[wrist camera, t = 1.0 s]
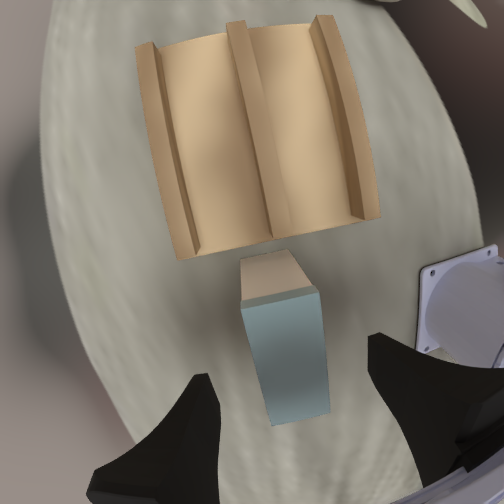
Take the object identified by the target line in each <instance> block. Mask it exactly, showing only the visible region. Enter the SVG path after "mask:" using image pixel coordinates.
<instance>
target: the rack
mask: <svg viewBox="0 0 504 504" xmlns="http://www.w3.org/2000/svg"><path fill="white" fill-rule="evenodd" d="M226 29H227V32H224V33H219V34H214V35H209V36H204V37H200V38H196V39H191V40H187V41H183V42H180V43H176V44H172V45H169V46H165V47H162V48H159V49H157V48H156V46H155V45H154V43H153V42H152V41H151V42H148V43H145V44H142V45H140V46H137V47H135V53H136V62H137V69H138V77H139V84H140V91H141V97H142V103H143V110H144V115H145V121H146V127H147V132H148V138H149V143H150V148H151V153H152V158H153V163H154V168H155V172H156V177H157V181H158V186H159V190H160V195H161V199H162V203H163V207H164V211H165V215H166V219H167V223H168V227H169V231H170V235H171V239H172V243H173V246H174V250H175V254H176V257H177V260H178V261H179V260H183V259H188V258H192V257H197V256H201V255H206V254H211V253H215V252H220V251H225V250H229V249H234V248H239V247H243V246H248V245H253V244H257V243H262V242H267V241H271V240H276V239H281V238H285V237H290V236H295V235H300V234H304V233H309V232H314V231H319V230H324V229H328V228H333V227H338V226H343V225H348V224H352V223H357V222H362V221H367V220H372V219H375V218H380V217H381V214H380V206H379V198H378V190H377V183H376V177H375V170H374V164H373V159H372V153H371V148H370V143H369V138H368V133H367V128H366V124H365V119H364V115H363V111H362V106H361V102H360V98H359V95H358V91H357V87H356V83H355V80H354V76H353V73H352V70H351V66H350V63H349V60H348V57H347V53H346V50H345V47H344V44H343V41H342V39H341V36H340V33H339V30H338V27H337V25H336V22H335V19H334V17H333V15H316V17H315V19H314V21H313V22H312V24H291V25H277V26H266V27H258V28H250V29H247V26H246V22H245V20H242V21H236V22H229V23H226Z"/></svg>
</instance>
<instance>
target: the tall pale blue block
mask: <svg viewBox="0 0 504 504" xmlns="http://www.w3.org/2000/svg"><path fill="white" fill-rule="evenodd" d="M240 268H241V295H242V301H240V307H241V313H242V317H243V321H244V325H245V329H246V333H247V337H248V341H249V345H250V348H251V352H252V356H253V360H254V364H255V367H256V371H257V375H258V379H259V382H260V386H261V390H262V393H263V397H264V401H265V404H266V408H267V411H268V415H269V419H270V422H271V426H275V425H280V424H285V423H290V422H295V421H299V420H303V419H308V418H312V417H316V416H320V415H323V414H327V413H330V397H329V383H328V370H327V359H326V348H325V338H324V329H323V320H322V311H321V303H320V295H319V291H318V290H317V288H316V287H315V285H312V284H311V282H310V281H309V279H308V278H307V276H306V275H305V273H304V272H303V270H302V269H301V267H300V266H299V264H298V263H297V262H296V260H295V259H294V257H293V256H292V254H291V253H290V251H289V250H288V249H286V250H281V251H277V252H272V253H267V254H263V255H258V256H253V257H249V258H244V259H240Z"/></svg>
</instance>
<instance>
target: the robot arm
mask: <svg viewBox="0 0 504 504" xmlns="http://www.w3.org/2000/svg"><path fill="white" fill-rule="evenodd" d="M487 252H488V253H487ZM431 271H432V274H431V275H430V273H431ZM439 347H442V348H443V349H444V350H445V351H446V352H447V353H448V354H449V355H450V356H451V357H452V358H453V359H454V360H455V361H456V362H457V363H458V364H455V363H450V362H447V361H443V360H440V359H437V358H434V357H431V356H429V355H426V354H425V353H428V352H430V351H432V350H434V349H437V348H439ZM368 372H369V375H370V377H371V379H372V381H373V383H374V385H375V387H376V389H377V391H378V392H379V394H380V395H381V397H382V398H383V400H384V401H385V403H386V405H387V406H388V408H389V409H390V411H391V412H392V414H393V415H394V417H395V418H396V420H397V422H398V424H399V425H400V427H401V429H402V432H403V434H404V436H405V438H406V440H407V443H408V445H409V448H410V450H411V452H412V455H413V457H414V460H415V463H416V466H417V469H418V472H419V475H420V478H421V481H422V485H423V489H421V490H419V491H417V492H415V493H413V494H411V495H409V496H407V497H404V498H402V499H400V500H397V501H395V502H393V503H390V504H497V503H498V502H499V501H501V500H502V499H503V498H504V258H501V257H499V256H498V247H497V246H496V245H494V244H493V245H490V246H487V247H484V248H482V249H479V250H476V251H473V252H470V253H467V254H464V255H461V256H458V257H455V258H452V259H449V260H446V261H443V262H440V263H437V264H434V265H431V266H428V267H425V268H423V269H422V271H421V274H420V303H419V320H418V333H417V343H416V350H415V349H412V348H410V347H408V346H406V345H404V344H402V343H400V342H398V341H396V340H394V339H392V338H390V337H388V336H386V335H384V334H382V333H380V332H379V333H376V334H373V335H370V336H368ZM220 430H221V412H220V403H219V401H218V398H217V396H216V393H215V391H214V388H213V386H212V383H211V381H210V378H209V375H208V373H204V374H196V375H194V376H193V377H192V379H191V380H190V382H189V384H188V385H187V387H186V388H185V390H184V391H183V393H182V394H181V396H180V397H179V399H178V400H177V402H176V403H175V404H174V406H173V407H172V409H171V410H170V411H169V412H168V414H167V415H166V416H165V418H164V419H163V420H162V421H161V422H160V423H159V425H158V426H157V427H156V428H155V429H154V430H153V431H152V432H151V433H150V434H149V435H148V436H147V437H145V438H144V439H143V440H142V441H141V442H139V443H138V444H137V445H136V446H135V447H133V448H132V449H131V450H129V451H128V452H126V453H125V454H123V455H122V456H120V457H119V458H117V459H115V460H114V461H112V462H110V463H108V464H106V465H104V466H102V467H100V468H98V469H96V470H95V471H94V473H93V476H92V478H91V481H90V484H89V487H88V489H87V492H86V496H87V497H88V499H89V501H90V502H92V503H93V504H220V501H219V489H218V454H219V442H220Z"/></svg>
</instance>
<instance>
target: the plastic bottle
mask: <svg viewBox="0 0 504 504" xmlns="http://www.w3.org/2000/svg"><path fill="white" fill-rule="evenodd" d="M375 1H380V2H397V1H400V0H375Z"/></svg>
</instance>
